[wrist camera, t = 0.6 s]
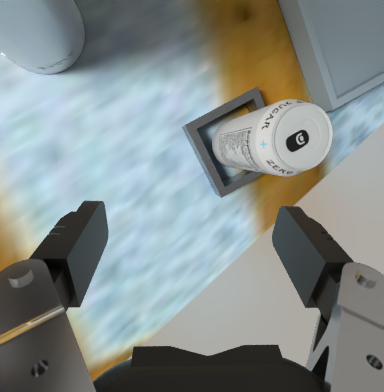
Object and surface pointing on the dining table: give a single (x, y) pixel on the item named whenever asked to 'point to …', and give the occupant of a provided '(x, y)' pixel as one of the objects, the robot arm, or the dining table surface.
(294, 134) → the energy drink can
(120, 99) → the dining table surface
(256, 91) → the can socket
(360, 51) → the tray
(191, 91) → the dining table surface
